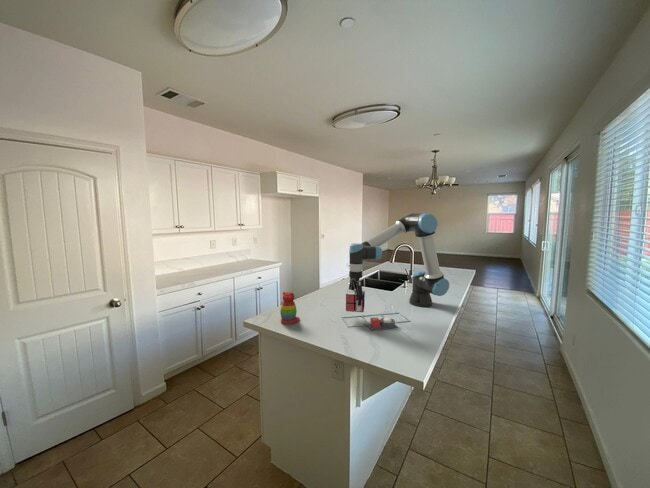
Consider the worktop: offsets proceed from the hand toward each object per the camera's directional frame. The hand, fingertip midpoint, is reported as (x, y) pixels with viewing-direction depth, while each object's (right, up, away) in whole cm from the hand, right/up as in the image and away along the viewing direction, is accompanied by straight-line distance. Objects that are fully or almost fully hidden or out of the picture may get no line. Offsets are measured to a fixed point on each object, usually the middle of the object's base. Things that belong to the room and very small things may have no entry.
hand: (355, 307), depth 155 cm
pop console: (+14, -9, -6) cm, 18 cm away
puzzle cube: (0, -1, 0) cm, 1 cm away
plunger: (+17, -8, -6) cm, 20 cm away
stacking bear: (-39, -9, +1) cm, 40 cm away
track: (+12, -8, +4) cm, 15 cm away
